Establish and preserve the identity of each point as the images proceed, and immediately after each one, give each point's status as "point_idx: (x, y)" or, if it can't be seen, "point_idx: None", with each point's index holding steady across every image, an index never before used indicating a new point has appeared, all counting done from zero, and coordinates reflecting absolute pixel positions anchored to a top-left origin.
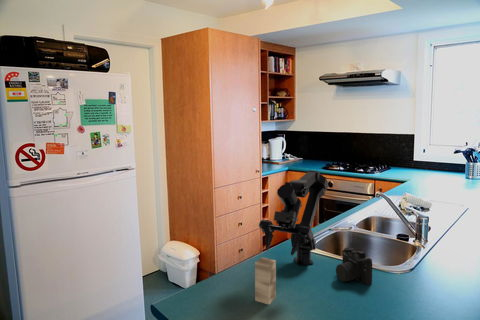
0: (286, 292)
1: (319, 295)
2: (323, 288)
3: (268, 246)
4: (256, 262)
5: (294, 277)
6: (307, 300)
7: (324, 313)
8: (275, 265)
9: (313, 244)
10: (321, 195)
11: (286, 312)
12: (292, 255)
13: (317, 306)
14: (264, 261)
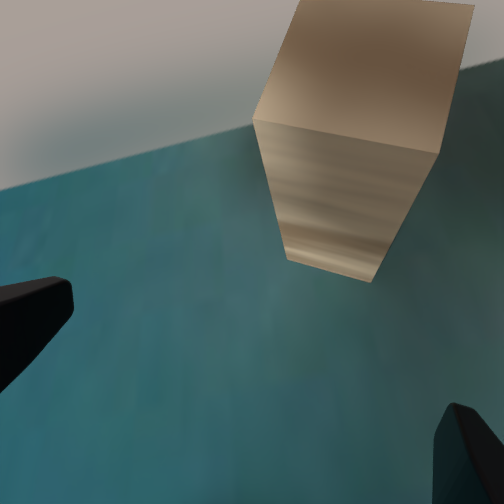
0: (234, 328)
1: (63, 331)
2: (27, 419)
3: (449, 481)
4: (460, 15)
5: None
6: (127, 269)
7: (70, 184)
8: (263, 146)
9: None
10: None
11: (223, 151)
12: (62, 308)
13: (89, 228)
14: (375, 60)
